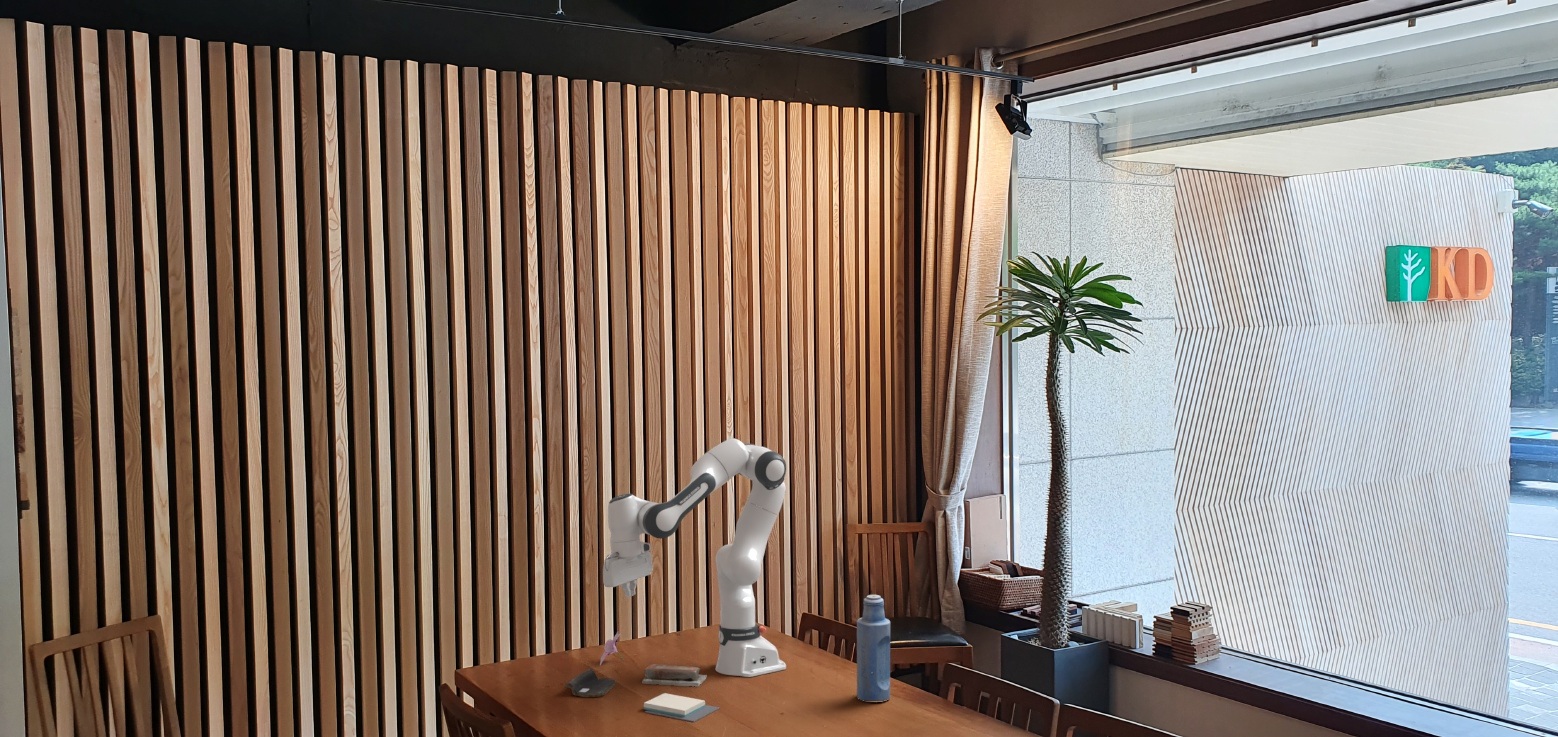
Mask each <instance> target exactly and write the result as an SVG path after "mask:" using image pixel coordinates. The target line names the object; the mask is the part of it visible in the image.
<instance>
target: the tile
mask: <svg viewBox="0 0 1558 737" xmlns="http://www.w3.org/2000/svg"><path fill="white" fill-rule="evenodd" d="M705 705H706V701H705V700H704V699H699V698H693V697H688V696H681V695H676V694H672V693H671V694H670V693H666V692H664V693H661V694H660V695H658V696H655V697H653V698H652V699H649V700H647V701H645V702H643V710H645V711H647V710H651V711H656V712H661V713H666V714H671V715H676V716H681V717H686V716H688V715H690V714H692V713H694V712H696V711H698V710H700V709H702V708H704V707H705Z"/></svg>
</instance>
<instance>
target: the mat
mask: <svg viewBox="0 0 1558 737" xmlns="http://www.w3.org/2000/svg"><path fill="white" fill-rule="evenodd" d="M720 709H721V708H720V707H718V706H713V705H707V704H705V707H704V708H702V709H700V710H698V711H696V712H694V713H692V714H690V715H688V716H686V717H681V716H676V715H671V714H666V713H661V712H656V711H651V710H645V711H644V713H646V714H650V715H656V716H661V717H666V718H671V719H676V720H682V721H685V722H686V721H687V722H690V723H695V722H697V721H699V720H701V719H703V718H704V717H707V716H709V715H710V714H713V713H714V712H716V711H718V710H720Z"/></svg>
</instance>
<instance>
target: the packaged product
mask: <svg viewBox="0 0 1558 737" xmlns="http://www.w3.org/2000/svg"><path fill="white" fill-rule="evenodd" d="M700 668H701V667H697V666H686V665H685V666H684V665H673V664H658V663H651V664H649V666H647V667H646V668H645V669H644V678H643V679H642V682H641V683H642V684H643V685H656V684H659V686H671V685H674V686H675V687H689V686H692V688H695V687H696V688H699V687H700V686H701V685H702V684H703V683H704V681H705V680H707V676H708V675H707V674H699V673H700V670H701V669H700ZM700 684H701V685H700ZM694 686H695V687H694Z"/></svg>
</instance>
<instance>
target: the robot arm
mask: <svg viewBox="0 0 1558 737" xmlns="http://www.w3.org/2000/svg"><path fill="white" fill-rule="evenodd" d="M786 472H787V463H786V460H785V459H784V457H783V456H782V455H781V454H779V453H778V452H776V451H773V450H772V449H770V448H767V447H765V446H759V445H756V444H754V443H743V441H741V440H739V439H737V438H729V439H727V440H726V439H725V440H724V441H723V442H720V443H719V444H717V445H715V446H714V447H712V448H711V449H710V450H708V451H706V452H705V453H704V454H703V455H702V456H700V457H699V458H698V459H697V460H696V461H695V462H694V464H693V465H692V466H691V468H690V480H689V481H690V482H689V483H688V484H687V485H686V486H685V487H684V488H683V489H681V490H680V491H679V492H678V493H677V494H675V496H673V497H672V498H671V499H669V500H668V501H665V502H661V503H659V502H654V501H649V500H645V499H642V498H640V497H637V496H636V495H634V494H633V493H625V494H620V495H616V496H615V497H613V498H611V499H610V501H609V502H608V505H607V524H608V529H609V532H610V538H609V544H610V545H609V546H610V554H607V555H606V557H605V559H604V561H603V562H604V563H603V568H602V577H603V578H602V579H603V581H602V582H603V585H604V586H605V588H615V587H618V586H620V587H621V589H622V590H623V591H624V597H625V598H630V597H633V596H635V595H636V593H637V592H636V588H637V584H638V579H642V578H644V577H646V576H647V577H648V576H650V575H652V572H653V570H654V569H653V568H654V567H653V556H652V553H651V550H652V545H651V544H652V543H649V542H644V541H641V535H642V534H646V535H649V536H652V537H653V538H656V539H659V540H660V539H666V538H667V539H668V538H669V537H671V536H672V535H674V533H676V531H677V530H678V528H679V526H680V525H681V522H682V521H683V519H684V518H685V517H686V516H687V515H688V514H689V513H690V512H692V510H694V508H696V507H698V505H699V504H700V503H701V502H702V501H703V500H705V499H706V498H707V497H708V496H710V495H711V494H712V493H713V492H715V491H716V490H718V489H719V488H721V487H722V486H723V485H725V484H726V483H728V482H729V481H730V480H731V479H732V478H734V477H735V476H736V475H740V476H743V477H744V478H746V479H748V480H750V481H752V487H751V491H750V493H749V495H748V497H747V499H746V502H745V504H744V506H743V509H742V510H741V512H740V515H739V518H738V519H737V522H736V526H735V533H734V536H733V537H734V538H733V542H732V543H728V544H725V545H723V546H721V547H720V548H719V549H718V550H717V552H716V555H715V565H716V574H717V585H718V592H719V602H720V603H719V605H720V606H719V607H720V613H719V614H720V618H719V619H720V624H719V626H718V640H719V641H718V643H719V649H718V651H719V652H718V658H717V662H716V666H715V671H716V672H717V673H719V674H722V675H726V676H727V675H728V676H738V677H739V676H740V677H744V678H751V677H756V676H761V675H766V674H769V673H775V672H779V671H784V670H786V669H787V664H786V663H785V661H783V660H782V659H780V656H779V651H778V649H777V647H776V646H775V645H774V644H772V643H771V641H769V640H767V639H766V638H764V637H763V636H762V634H766V632H767V628H766V627H765V626H763V625H761V626H760V625H759V624H757V623H756V598H755V596H754V595H755V594H754V589H753V584H755V583H756V582H757V581H758V580H759V579H760V576H761V574H762V573H761V572H762V563H763V559H764V556H765V551H766V548H767V544H768V540H769V537H770V535H771V532H772V530H773V528H774V525H775V523H776V520H777V518H778V517H779V514H780V511H781V509H782V506H783V502H784V500H785V499H784V498H785V495H786V489H787V487H786V484H785V482H784V480H785V477H786Z"/></svg>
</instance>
